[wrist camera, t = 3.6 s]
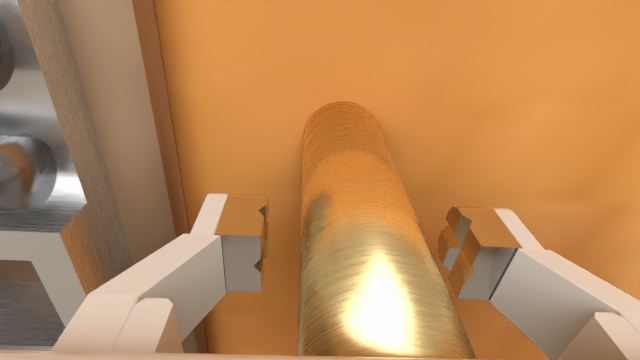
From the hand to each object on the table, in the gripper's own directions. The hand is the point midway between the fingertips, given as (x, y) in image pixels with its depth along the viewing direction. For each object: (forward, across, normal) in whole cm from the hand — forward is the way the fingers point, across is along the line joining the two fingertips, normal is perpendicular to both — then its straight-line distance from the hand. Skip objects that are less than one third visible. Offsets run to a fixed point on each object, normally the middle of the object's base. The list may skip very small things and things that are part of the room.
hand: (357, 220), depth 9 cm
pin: (+5, 0, 0) cm, 5 cm away
